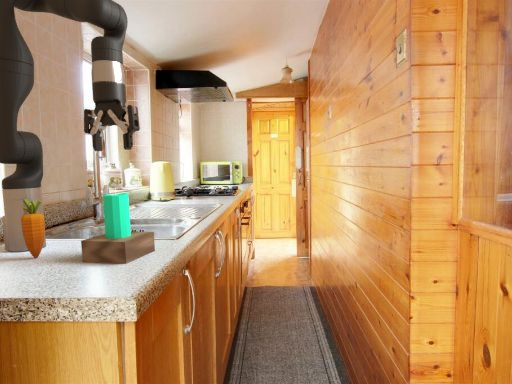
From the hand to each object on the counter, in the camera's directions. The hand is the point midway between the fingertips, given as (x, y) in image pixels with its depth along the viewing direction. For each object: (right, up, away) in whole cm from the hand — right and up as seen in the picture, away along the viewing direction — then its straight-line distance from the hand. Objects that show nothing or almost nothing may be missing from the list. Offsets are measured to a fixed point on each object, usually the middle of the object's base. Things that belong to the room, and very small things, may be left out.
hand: (112, 150), depth 86 cm
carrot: (-20, -27, +2) cm, 34 cm away
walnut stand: (+2, -26, +1) cm, 26 cm away
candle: (+1, -21, 0) cm, 21 cm away
